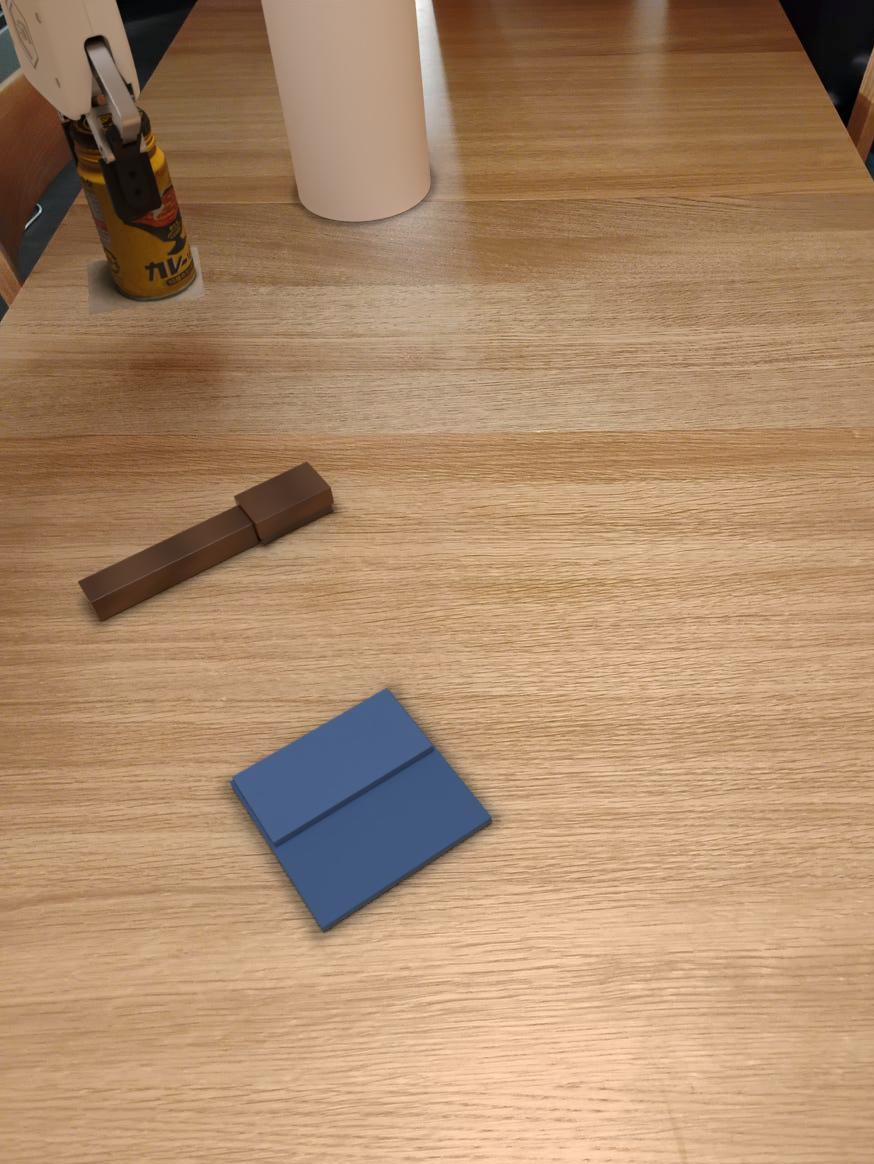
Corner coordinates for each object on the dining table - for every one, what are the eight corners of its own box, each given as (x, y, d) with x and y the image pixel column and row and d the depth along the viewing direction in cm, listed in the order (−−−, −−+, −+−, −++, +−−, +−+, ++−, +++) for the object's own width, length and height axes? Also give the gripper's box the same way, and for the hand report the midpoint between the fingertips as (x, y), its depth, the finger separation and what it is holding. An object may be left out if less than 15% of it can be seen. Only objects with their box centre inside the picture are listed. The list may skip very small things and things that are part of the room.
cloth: (323, 932, 53) (319, 923, 52) (231, 786, 59) (226, 776, 58) (492, 822, 57) (491, 811, 56) (390, 694, 62) (387, 683, 61)
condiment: (205, 297, 74) (160, 131, 65) (89, 317, 73) (26, 151, 64) (197, 249, 79) (154, 87, 70) (88, 267, 78) (29, 105, 68)
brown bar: (103, 627, 67) (91, 604, 65) (84, 595, 69) (72, 572, 67) (336, 511, 73) (331, 487, 71) (312, 485, 75) (307, 460, 73)
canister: (438, 154, 106) (421, -68, 90) (421, 222, 97) (399, -10, 82) (313, 154, 107) (275, -65, 91) (285, 220, 99) (238, -8, 83)
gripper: (-86, -137, 60) (28, 164, 74) (6, -67, 51) (117, 262, 64) (35, -160, 62) (124, 135, 76) (145, -98, 53) (223, 225, 67)
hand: (120, 191), depth 70 cm, fingers closed on condiment, 6 cm apart
